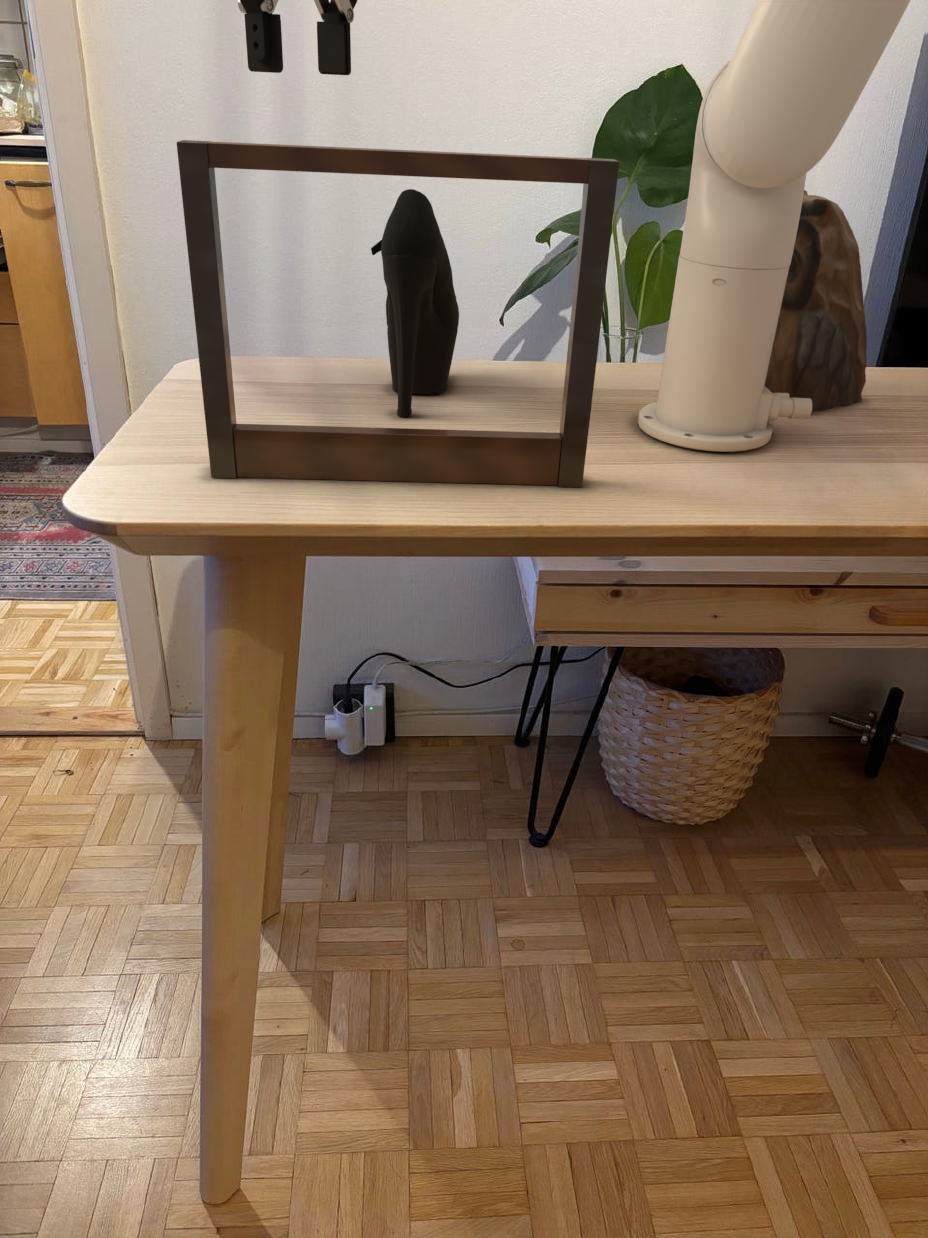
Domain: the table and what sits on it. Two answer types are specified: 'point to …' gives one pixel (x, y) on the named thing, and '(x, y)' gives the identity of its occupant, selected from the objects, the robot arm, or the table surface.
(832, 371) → the owl
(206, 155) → the wooden picture frame
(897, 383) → the table surface
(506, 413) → the table surface
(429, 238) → the high-heeled shoe
